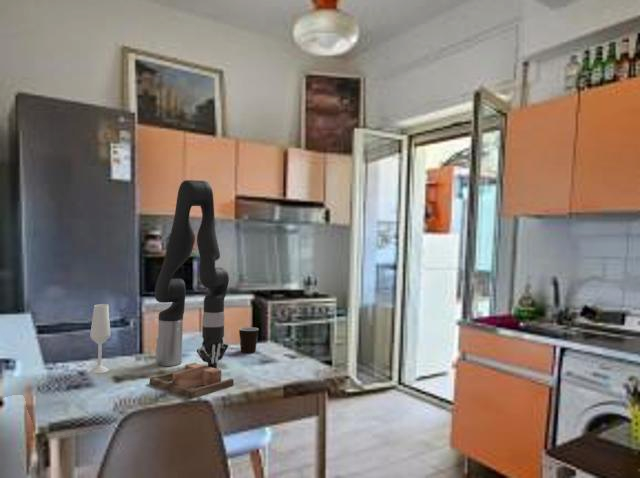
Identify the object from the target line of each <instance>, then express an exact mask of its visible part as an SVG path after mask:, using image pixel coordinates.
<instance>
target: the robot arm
mask: <svg viewBox="0 0 640 478" xmlns="http://www.w3.org/2000/svg"><path fill="white" fill-rule="evenodd" d="M177 191H178V192H177V197H176V204H175V211H174V217H173V221H172V222H173V223H172V227H171V229H170V230H171V231H170V233H169V237H168V240H167V245H166V251H165V256H164V259H163V263H162V265H161V266H162V267H161V270H160V272H159V275H158V277H157V281H156V282H155V283H156V284H155V288H154V296H155V300H156V302H158V303H162V304H163V303H171V304H170V306H169V307H167V308H165V309H164V310H161V311H160V312H159V313H158V325H157V329H158V331H157V338H156V347H155V348H156V349H155V350H156V352H155V363H156V364H157V365H159V366H163V367H171V366H177V365H180V364H182V363H183V362H182V360H183V359H182V358H183V357H182V356H183V331H184V329H183V328H184V314H185V305H186V292H187V289H186V283H185V281H184V279H182V278H173V276H174V275H175V273H176V271H177V270H178V269H179V268H181V266H182V265H184V264H185V262H186V261H187V260H188V259H189V258H190V257H191V255H192V253H193V249H194V245H195V241H196V243H197V245H196V246H197V249H198V254H199V271H198V272H199V280H200V283H201V285H202V286H203V287H204V288H206V289H210V292H209V294H207V295H205V297H204V298H203V314H202V325H201V326H202V331H201V336H202V339H203V341H202V343H201V347H200V348H198V349H196V353H197V354H198V356H199V357H200V359H201V360H202V362H204V363H206V364H207V366H208V367H212V368H216V369H218V367H217V366H218V361H220V360H222V359H223V357H224V355H225V353H226V351H227V349H228V348H229V345H228V344H226V343H224V337H225V298H226V295H227V291H228V289H229V288H228V287H229V283H230V277H229V276H230V275H229V273H228V271H227V270H226V269H225V268H223V267H216V262H217V261H218V260H219V259H220V257H221V253H220V248H219V244H218V238H217V234H216V223H215V222H216V221H215V204H214V203H215V202H214V191H213V188H212V186H211V184H210V183H209V181H205V180H194V179H191V180H190V179H186V180H183V181H182V182H181V183H180V186H179V187H178V190H177ZM192 207H200V209H201V221H200V224H199V225H200V226H199V228H198V231H197V234H196V236H195V231H194V230H193V228H192V227H193V226H192V225H191V223H190V214H191V209H192Z"/></svg>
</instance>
